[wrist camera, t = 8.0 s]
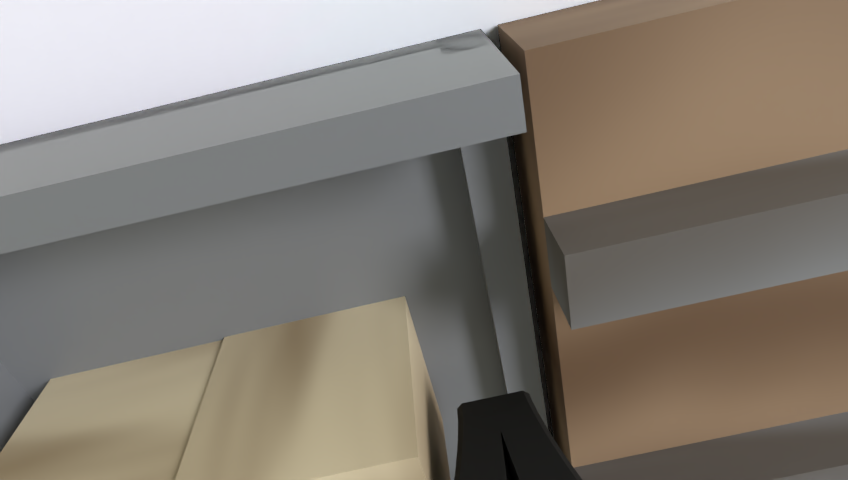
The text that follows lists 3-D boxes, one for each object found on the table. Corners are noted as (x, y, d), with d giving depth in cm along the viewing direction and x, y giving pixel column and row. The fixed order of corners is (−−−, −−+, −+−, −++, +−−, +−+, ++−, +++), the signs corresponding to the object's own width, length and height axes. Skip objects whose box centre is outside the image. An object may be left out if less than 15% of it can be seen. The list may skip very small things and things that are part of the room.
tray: (552, 499, 17) (584, 605, 14) (176, 575, 17) (142, 691, 15) (481, 28, 10) (519, 73, 7) (-162, 183, 10) (-342, 278, 8)
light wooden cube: (465, 589, 10) (261, 630, 11) (442, 419, 14) (287, 453, 14) (418, 456, 8) (164, 510, 8) (404, 296, 12) (224, 337, 12)
